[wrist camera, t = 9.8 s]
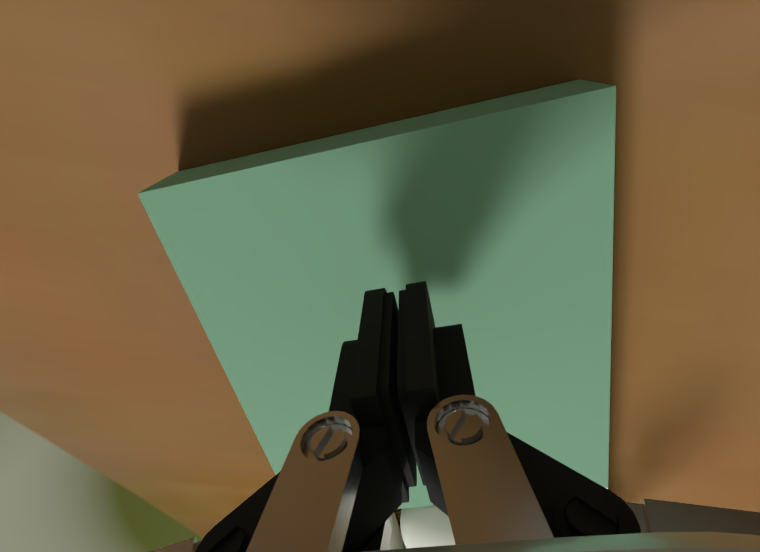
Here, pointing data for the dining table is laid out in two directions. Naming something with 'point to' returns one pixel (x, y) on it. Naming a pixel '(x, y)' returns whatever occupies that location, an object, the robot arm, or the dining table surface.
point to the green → (416, 261)
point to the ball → (425, 527)
